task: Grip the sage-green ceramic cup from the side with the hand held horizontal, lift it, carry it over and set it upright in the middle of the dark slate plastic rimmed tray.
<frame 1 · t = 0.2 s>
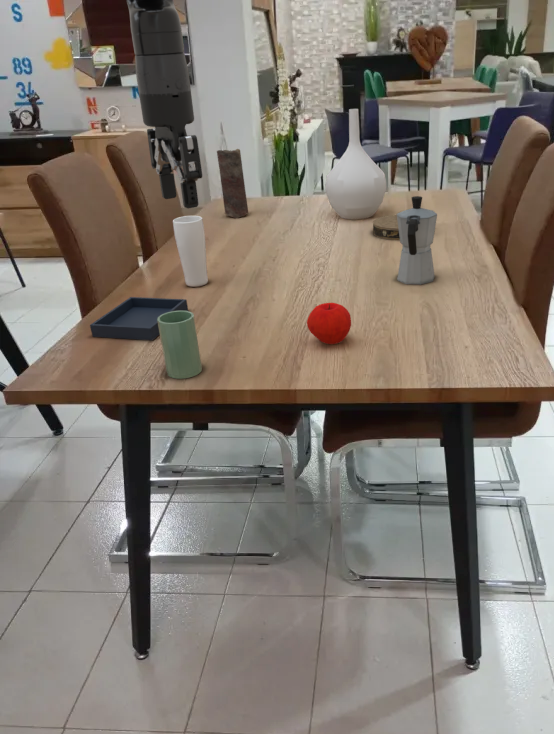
hand: (180, 202, 109), 28 cm above the table, tool pointing down, fingers open, 8 cm apart
tambourine: (401, 232, 192), on the table
candle: (236, 216, 221), on the table
cup: (184, 371, 120), on the table
coffee maker: (415, 280, 155), on the table
drinking glass: (197, 284, 162), on the table
apple: (330, 343, 127), on the table
vase: (356, 216, 211), on the table
tray: (142, 323, 141), on the table
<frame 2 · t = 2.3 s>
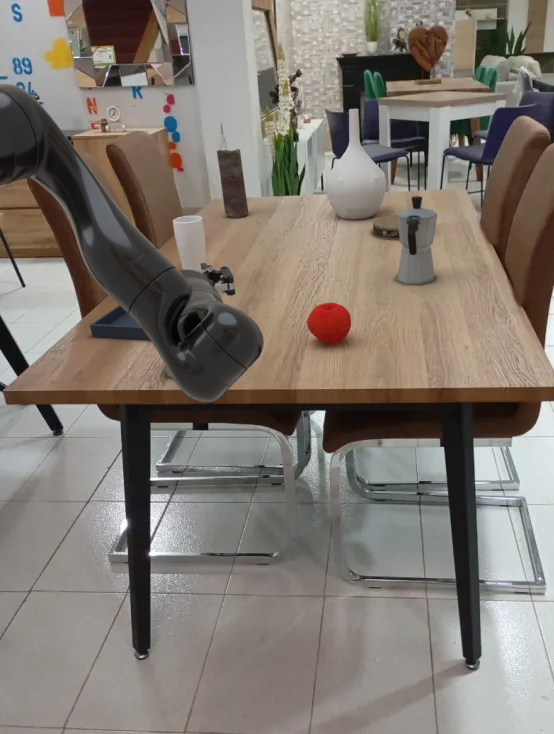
hand: (174, 274, 101), 20 cm above the table, tool horizontal, fingers open, 8 cm apart
nothing on the table moved.
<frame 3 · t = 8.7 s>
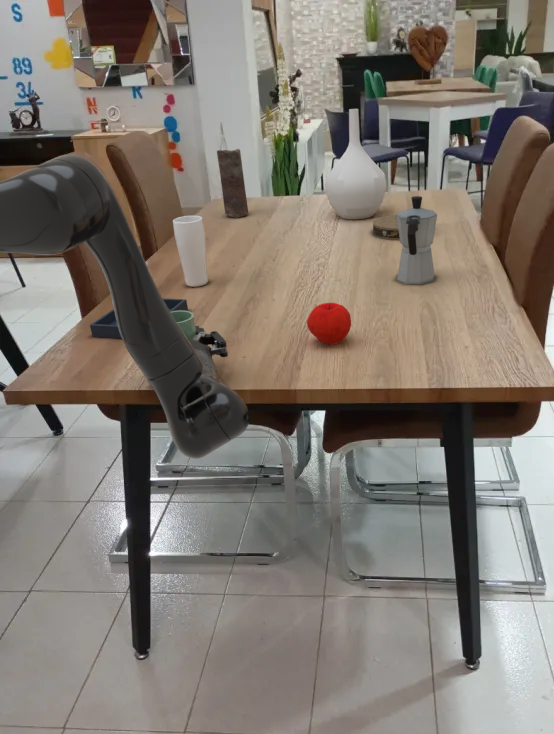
hand: (177, 334, 119), 6 cm above the table, tool horizontal, fingers closed on cup, 6 cm apart
cup: (184, 371, 120), on the table, touching gripper
everything else where it was.
when the fingers open (6 cm above the table, at t = 18.3 s): cup stays where it is, resting on tray.
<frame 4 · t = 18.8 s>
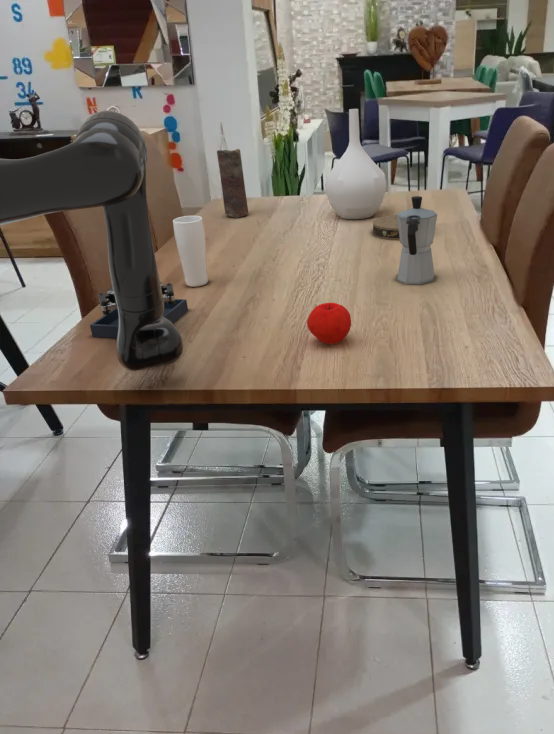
hand: (134, 287, 139), 7 cm above the table, tool horizontal, fingers open, 8 cm apart
cup: (142, 320, 141), resting on tray
everything else where it was.
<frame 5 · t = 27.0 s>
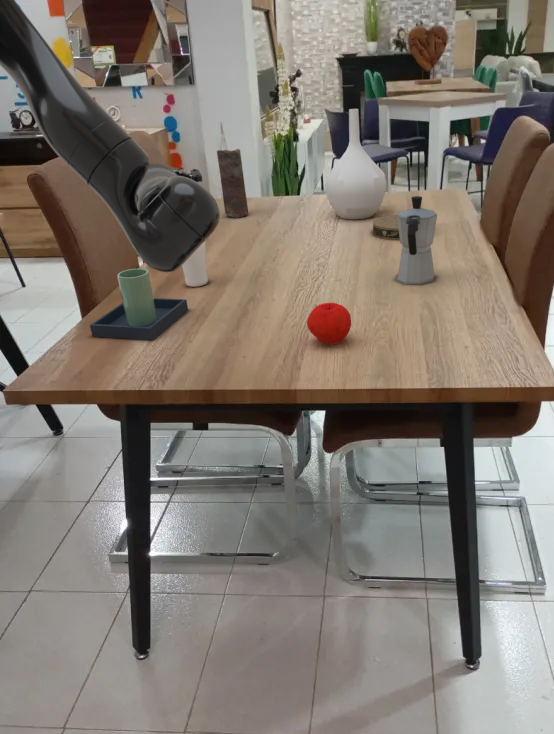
hand: (148, 178, 105), 32 cm above the table, tool horizontal, fingers open, 8 cm apart
nothing on the table moved.
at the end: cup inside the target area in the tray (0.1 cm from its centre), point 0.5 cm above the tray's base; cup tilted 0°; the gripper is holding nothing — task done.
